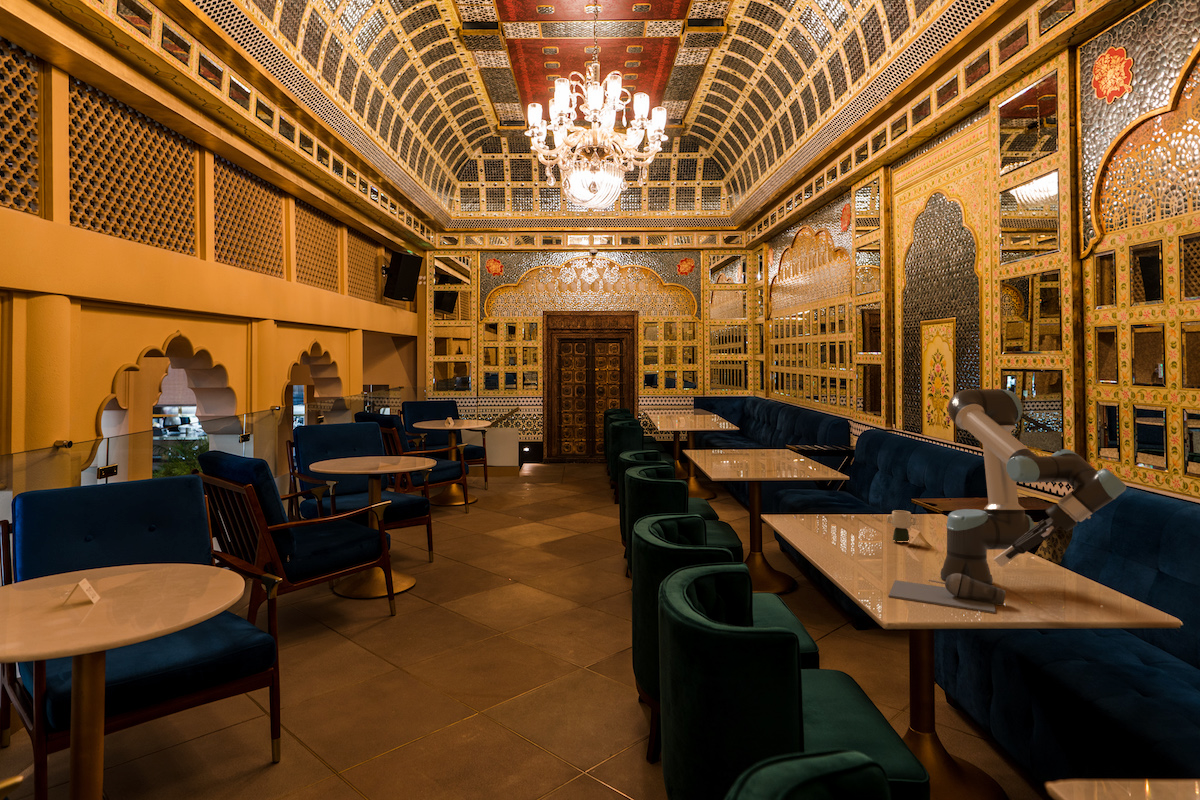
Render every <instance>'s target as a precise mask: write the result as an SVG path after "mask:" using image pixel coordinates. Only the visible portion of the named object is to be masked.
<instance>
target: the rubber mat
mask: <svg viewBox="0 0 1200 800" xmlns="http://www.w3.org/2000/svg"><path fill="white" fill-rule="evenodd" d="M888 598H893V599H900V600H904V601H905V600H906V601H912V602H916V603H917V602H918V603H919V602H920V603H925V604H930V605H931V604H932V605H937V606H944V607H951V608H956V607H957V608H958V609H962V608H967V609H966V610H969V609H973V610H972V611H975V610H979V611H978V612H982V611H985V612H984V613H988V612H991V613H990V614H996V604H993V603H988V602H983V601H978V600H974V599H969V598H961V597H957V596H954V595H952V594H951V593H950V592H948V590H947V589H946V587H945V586H940V585H932V584H925V583H918V582H911V581H904V580H897V579H894V582H893V583H892V586H891V588H890V591H889V593H888Z"/></svg>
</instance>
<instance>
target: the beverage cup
mask: <svg viewBox="0 0 1200 800" xmlns="http://www.w3.org/2000/svg"><path fill="white" fill-rule="evenodd" d="M928 582H931V583H932V582H933V583H936V584H943V585H944V587H946V589H947V590H948V592H950V593H951V594H952V595H954V596H957V597H961V598H969V599H974V600H978V601H983V602H988V603H993V604H995V605H999V606H1004V603H1005V600H1006V593H1007V592H1006V590H1005V589H1002V588H1000V587H997V586H995V585H993V584H992V585H989V584H986V583H984V582H981V581H978V580H975V579H972V578H970V577H968V576H966V575H963V574H959V573H955V574H951V575H949V576H948V577H947V578H946V581H944V582H943V581H938V580H933V579H928Z"/></svg>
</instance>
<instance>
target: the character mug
mask: <svg viewBox="0 0 1200 800" xmlns="http://www.w3.org/2000/svg"><path fill="white" fill-rule="evenodd" d="M890 519H891V520H890ZM912 520H913V522H912ZM886 522H887V523H888V524H891V526H892V527H894V529H893V535H892V541H893V540H895V541H908V540H909V541H910V534H909V530H908V529H909V528H910V529H911V526H916V525H917V518H916V516H912V512H910V511H907V510H900V509H899V510H898V509H897V510H896V509H895V510H892V511H891V514H888V515H887V516H886ZM895 541H894V542H895Z"/></svg>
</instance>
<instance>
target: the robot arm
mask: <svg viewBox="0 0 1200 800" xmlns="http://www.w3.org/2000/svg"><path fill="white" fill-rule="evenodd" d="M1021 401H1022V400H1021V399H1020V398H1019V396H1018V395H1017V394H1015V392H1014V391H1011V390H1009V389H1001V388H991V389H990V388H988V389H987V388H981V389H977V388H976V389H975V388H967V389H963V390H960V391H958V392H956V393H955V394H953V396H952V397H951V398H950V400H949V402H948V405H947V412H948V416H949V418H950V419H951V421H952V422H953V423H954V424H955V425H956V426H957V428H960V429H962V430H966V431H967V432H968V433H970V434H971V435H972V436H974V438H975V439H977V440H978V441H979V442H980V443H981V444H982V447H983V448H982V449H983V460H984V469H985V470H984V471H985V481H986V489H987V490H986V491H987V501H988V503H987V504H986V505H985V507H984V508H983V509H977V508H976V509H974V508H973V509H970V508H964V509H963V508H962V509H956V510H953V511H951V512H949V513H948V514H947V518H946V519H947V521H946V556H945V559H944V562H943V565H942V568H941V570H940V580H943V581H944V582H946V578H947V577H948V576H949V575H951V574H955V573H959V574H963V575H966V576H968V577H970V578H972V579H975V580H978V581H981V582H984V583H986V584H989V585H992V586H993V580H994V579H993V575H992V574H991V570H990V566H989V564H988V556H987V555H988V550H995V551H996V550H1003V551H1002V552H1001V553H999V554H998V555H997V556H995V557H994V558H993V561H994V562H995V563H996V564H997V565H998V566H1000V568H1002V567H1004V566H1005V565H1007V564H1008V563H1009V562H1011V561H1012V560H1014V559H1015V558H1016V557H1018V556H1019V555H1022V554H1024V555H1025V553H1027V552H1028V551H1030V550H1032V549H1033V548H1034V547H1036V546H1038V545H1040V544H1042V543H1043V542H1044V541H1046V540H1047V539H1049V538H1050V539H1051V538H1052V536H1053V535H1054V534H1056V533H1057V531H1056V530H1058V529H1059V527H1060V528H1061V529H1062V530H1064V531H1065V532H1069V531H1071V530H1072V529H1074V528H1075V527H1077V526H1078V522H1079V523H1082V522H1084V521H1085V520H1086V519H1087V520H1090V519H1091V518H1092V516H1091V515H1093V514H1095V512H1096V511H1098V510H1100V509H1102V508H1103V507H1105V506H1106V505H1107V504H1109V503H1110V502H1112V501H1114V500H1116V499H1117V498H1118V497H1119V496H1120V495H1121V494H1123V493H1124V492H1125V491H1126V490H1127V485H1126V484H1125V482H1123V481H1122V480H1121V479H1120V478H1119V477H1118V476H1116V475H1115V474H1114V473H1113V472H1112V471H1110V470H1109V469H1108V468H1101V469H1100V470H1097V469H1095V468H1094V466H1092V465H1091V464H1090V463H1088V462H1087V461H1086V460H1085V459H1084V458H1083V457H1082V456H1080V455H1079V454H1078V453H1076V452H1075V451H1073V450H1071V449H1069V448H1068V449H1067V448H1065V449H1063V448H1062V449H1061V450H1059V451H1058V450H1057V451H1055V452H1054V453H1052V454H1051V456H1049V455H1047V456H1046V455H1043V456H1040V455H1037V453H1035V452H1033V451H1032V450H1031V449H1029V448H1028V447H1027V446H1025V444H1023V443H1022V442H1021V441H1019V440H1018V439H1017V438H1016V437H1014V435H1013V434H1012V431H1014V430H1015V428H1016V427H1017V425H1016V423H1018V421H1020V420H1021V418H1022V415H1023V403H1022V402H1021ZM1017 483H1025V484H1030V483H1067V484H1069V485H1070V486H1071V487H1072V488H1073V489H1072V491H1070V492H1068V493H1067V494H1066V495H1064V496H1063V497H1062V498H1059V500H1057V502H1058V503H1053V504H1052V505H1050V506H1049V507H1048V508H1047V509H1045V513H1046V514H1047V516H1048V517H1049V518H1047V519H1042V520H1040V521H1038V522H1037V523H1036V524H1035V522H1034V520H1033V518H1031V516H1030V515H1028V514H1026V511H1025V508H1024V507H1023V506H1021V505H1020V504H1019V497H1018V488H1017Z"/></svg>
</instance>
